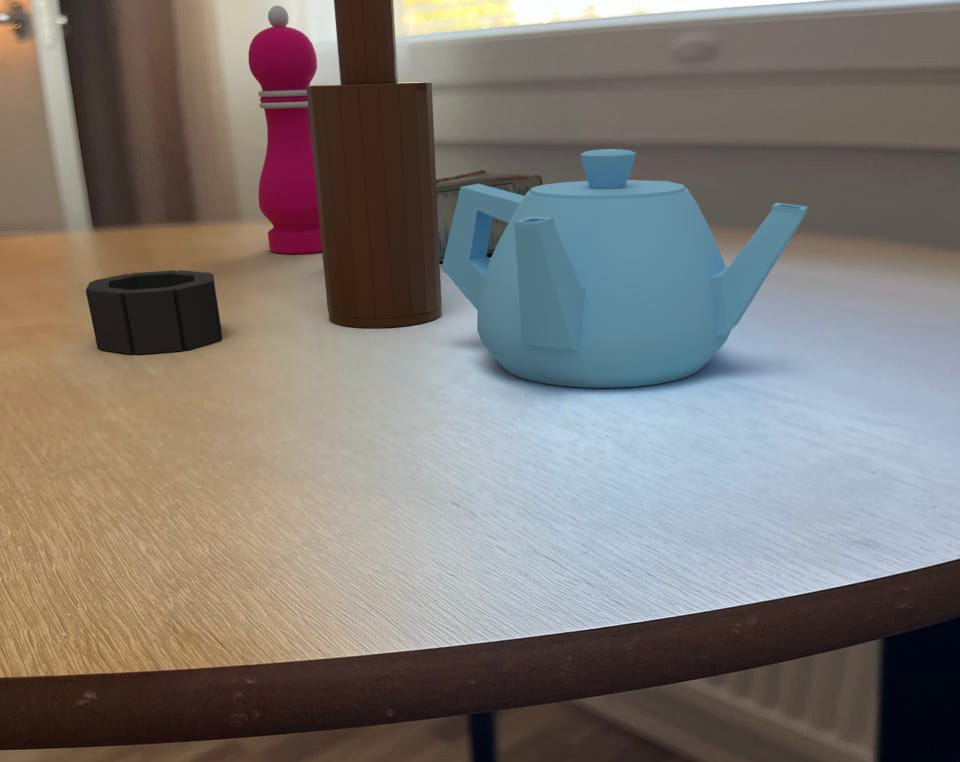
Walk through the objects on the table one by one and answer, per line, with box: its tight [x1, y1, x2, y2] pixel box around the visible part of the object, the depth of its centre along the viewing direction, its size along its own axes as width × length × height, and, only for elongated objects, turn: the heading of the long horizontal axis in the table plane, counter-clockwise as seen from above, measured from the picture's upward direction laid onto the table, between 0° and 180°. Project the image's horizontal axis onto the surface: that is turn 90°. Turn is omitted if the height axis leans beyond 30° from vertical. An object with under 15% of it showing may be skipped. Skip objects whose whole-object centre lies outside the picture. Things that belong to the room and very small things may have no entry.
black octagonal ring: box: [85, 269, 223, 356], centre depth 65 cm, size 8×8×4 cm
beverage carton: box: [436, 169, 543, 262], centre depth 91 cm, size 8×19×7 cm, turn 125°
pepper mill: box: [248, 5, 322, 255], centre depth 94 cm, size 7×7×20 cm
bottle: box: [306, 0, 442, 329], centre depth 66 cm, size 8×8×19 cm
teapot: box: [441, 148, 809, 389], centre depth 55 cm, size 15×15×11 cm
